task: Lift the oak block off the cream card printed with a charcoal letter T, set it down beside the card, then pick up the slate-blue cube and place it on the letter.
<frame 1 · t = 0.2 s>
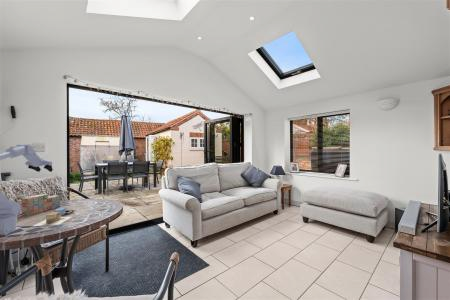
hand: (45, 170, 135), 31 cm above the table, tool tilted 45°, fingers open, 7 cm apart
oak block: (53, 221, 121), point 1 cm above the table, touching letter card
letter card: (53, 221, 121), on the table
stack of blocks: (42, 211, 143), on the table
blue cube: (60, 215, 133), on the table
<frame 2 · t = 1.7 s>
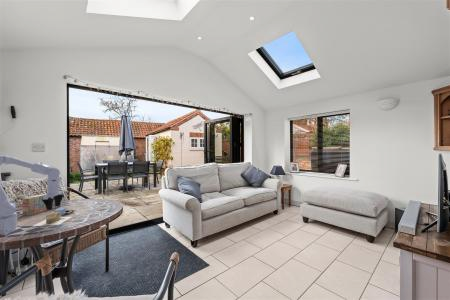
hand: (53, 207, 121), 9 cm above the table, tool pointing down, fingers open, 7 cm apart
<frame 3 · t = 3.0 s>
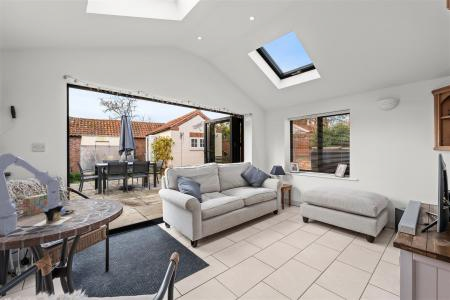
hand: (53, 219, 121), 2 cm above the table, tool pointing down, fingers closed on oak block, 5 cm apart
oak block: (53, 221, 121), point 1 cm above the table, touching gripper, letter card
everything else where it was.
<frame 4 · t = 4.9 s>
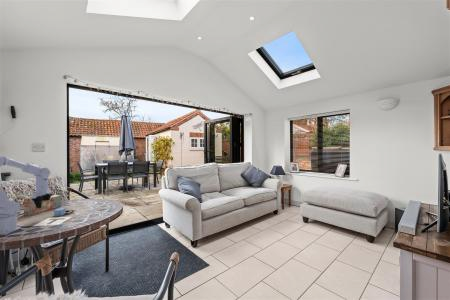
hand: (42, 206, 124), 9 cm above the table, tool pointing down, fingers closed on oak block, 5 cm apart
oak block: (42, 208, 124), point 7 cm above the table, touching gripper
when the fingers open (3 cm above the table, at t = 7.0 s): oak block drops 1 cm, on the table.
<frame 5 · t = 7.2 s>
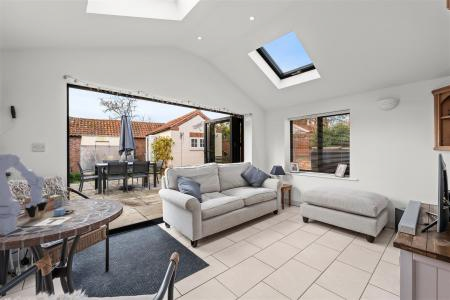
hand: (36, 215, 125), 3 cm above the table, tool pointing down, fingers open, 7 cm apart
oak block: (37, 219, 125), on the table
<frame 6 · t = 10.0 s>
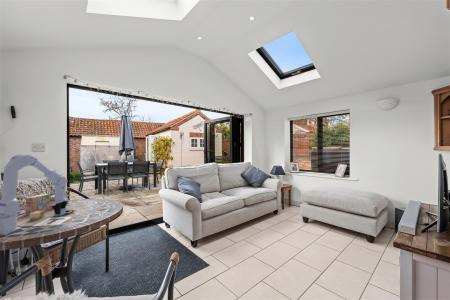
hand: (60, 213, 133), 2 cm above the table, tool pointing down, fingers closed on blue cube, 4 cm apart
blue cube: (60, 215, 133), on the table, touching gripper
when the fingers open (3 cm above the table, at t = 13.5 s): blue cube drops 1 cm, resting on letter card.
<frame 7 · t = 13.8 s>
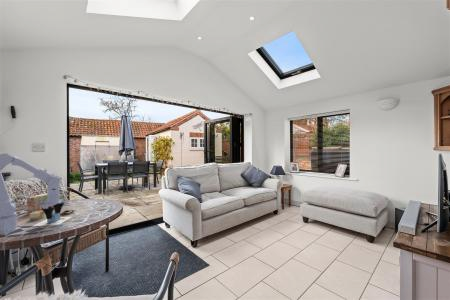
hand: (53, 216, 121), 3 cm above the table, tool pointing down, fingers open, 7 cm apart
blue cube: (53, 221, 121), point 1 cm above the table, touching letter card
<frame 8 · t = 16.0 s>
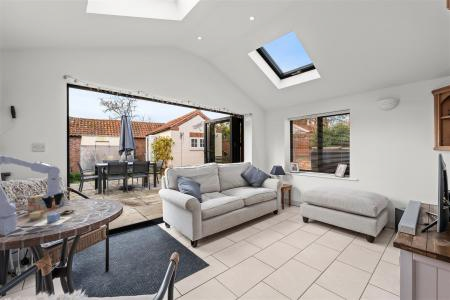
hand: (53, 206, 121), 10 cm above the table, tool pointing down, fingers open, 7 cm apart
at the end: blue cube 0.1 cm off-centre on the letter card, point 0.5 cm above the letter card's base; oak block touching table; blue cube tilted 0° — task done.
